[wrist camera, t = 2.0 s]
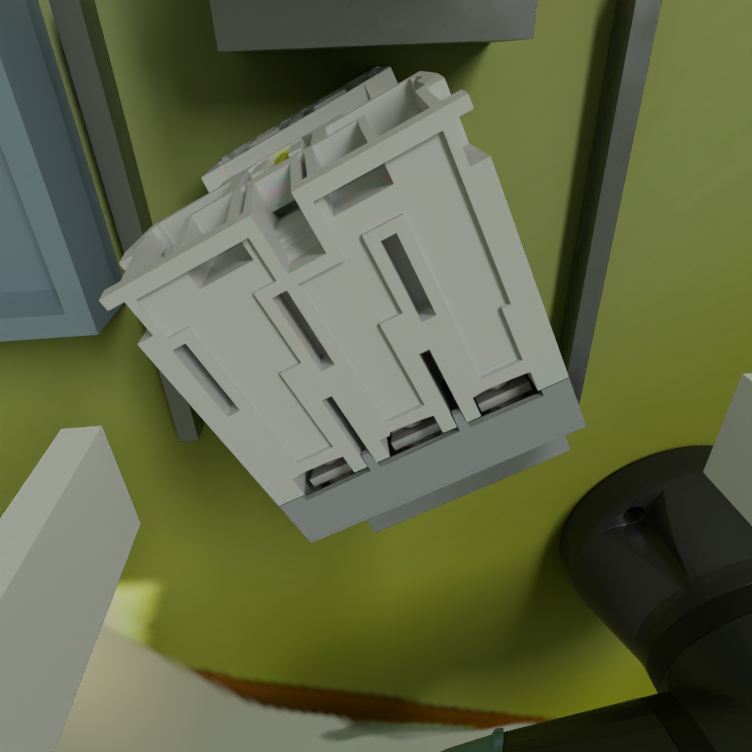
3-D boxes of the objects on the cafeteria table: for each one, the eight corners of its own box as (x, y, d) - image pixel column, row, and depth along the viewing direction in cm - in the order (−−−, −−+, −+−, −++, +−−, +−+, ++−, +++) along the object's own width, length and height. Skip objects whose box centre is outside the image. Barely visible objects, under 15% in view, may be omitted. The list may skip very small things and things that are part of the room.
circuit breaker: (372, 397, 29) (409, 656, 17) (222, 156, 22) (88, 288, 10) (495, 339, 28) (638, 571, 15) (377, 65, 21) (462, 76, 8)
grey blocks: (567, 394, 31) (607, 449, 26) (186, 425, 29) (162, 487, 25) (646, -25, 20) (732, -47, 16) (64, -5, 19) (-10, -23, 15)
